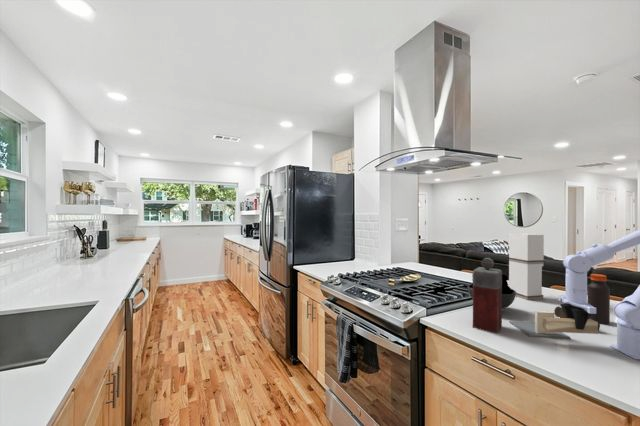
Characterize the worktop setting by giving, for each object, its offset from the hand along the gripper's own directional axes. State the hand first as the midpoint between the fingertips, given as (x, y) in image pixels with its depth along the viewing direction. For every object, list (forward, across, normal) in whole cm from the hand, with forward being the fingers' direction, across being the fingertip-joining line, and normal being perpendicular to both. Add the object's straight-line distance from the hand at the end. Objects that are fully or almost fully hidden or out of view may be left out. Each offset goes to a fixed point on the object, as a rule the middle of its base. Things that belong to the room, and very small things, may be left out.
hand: (575, 327), depth 101 cm
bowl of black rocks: (+6, -34, -13) cm, 37 cm away
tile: (+5, -7, -6) cm, 11 cm away
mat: (+6, -11, -6) cm, 14 cm away
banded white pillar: (+6, -60, +17) cm, 63 cm away
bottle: (+6, -24, +26) cm, 36 cm away
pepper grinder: (+6, -12, -24) cm, 28 cm away
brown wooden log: (+6, -21, +14) cm, 26 cm away
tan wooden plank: (+2, 0, -2) cm, 3 cm away
